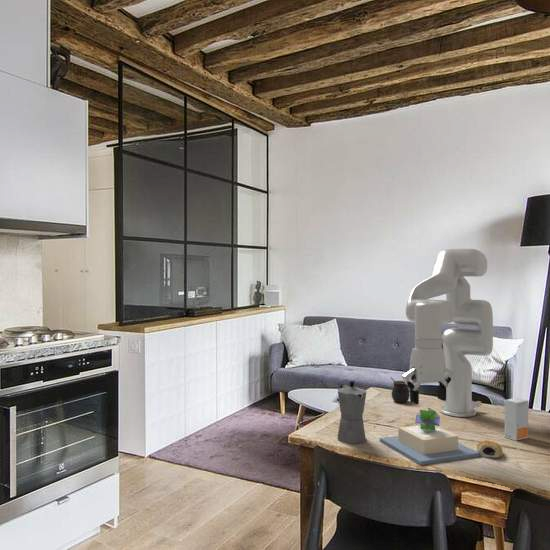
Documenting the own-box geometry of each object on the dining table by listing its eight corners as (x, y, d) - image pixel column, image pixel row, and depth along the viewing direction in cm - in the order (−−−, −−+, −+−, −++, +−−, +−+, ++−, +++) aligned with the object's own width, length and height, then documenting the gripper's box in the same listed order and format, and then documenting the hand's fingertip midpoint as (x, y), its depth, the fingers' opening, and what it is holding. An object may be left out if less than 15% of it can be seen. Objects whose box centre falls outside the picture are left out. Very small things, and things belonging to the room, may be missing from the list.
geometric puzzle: (438, 430, 136) (439, 403, 141) (413, 427, 138) (415, 401, 143) (439, 439, 141) (440, 413, 146) (415, 436, 144) (417, 410, 148)
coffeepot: (375, 444, 145) (375, 384, 145) (346, 447, 143) (346, 386, 143) (353, 429, 160) (353, 374, 160) (326, 431, 157) (327, 376, 157)
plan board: (433, 434, 155) (433, 418, 155) (479, 456, 136) (479, 438, 136) (379, 441, 148) (379, 424, 148) (420, 465, 129) (420, 446, 129)
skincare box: (516, 441, 149) (516, 402, 149) (504, 437, 153) (504, 399, 153) (528, 438, 152) (529, 400, 152) (516, 434, 155) (516, 397, 156)
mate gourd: (412, 403, 193) (411, 378, 193) (393, 404, 192) (393, 379, 192) (406, 399, 200) (406, 375, 200) (388, 399, 200) (388, 375, 200)
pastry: (478, 446, 145) (478, 433, 145) (503, 450, 142) (503, 437, 142) (476, 456, 136) (476, 443, 136) (502, 461, 133) (502, 447, 133)
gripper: (443, 340, 149) (443, 395, 149) (395, 343, 143) (396, 401, 143) (460, 343, 142) (460, 401, 142) (411, 347, 136) (411, 408, 136)
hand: (428, 401), depth 143 cm, fingers open, 9 cm apart
